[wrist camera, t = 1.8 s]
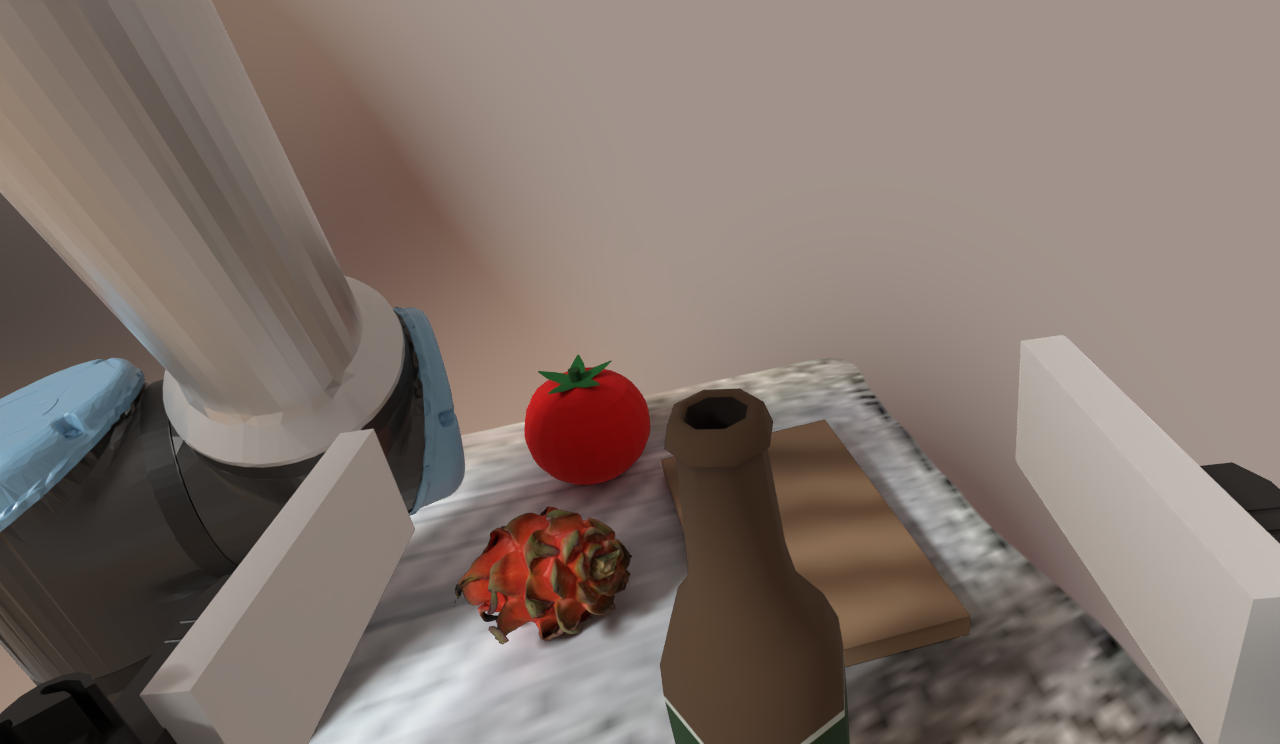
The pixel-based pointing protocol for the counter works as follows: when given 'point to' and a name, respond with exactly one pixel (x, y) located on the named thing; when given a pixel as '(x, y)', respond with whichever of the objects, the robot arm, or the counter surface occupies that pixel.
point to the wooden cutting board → (853, 548)
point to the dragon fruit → (546, 573)
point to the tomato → (586, 424)
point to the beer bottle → (744, 594)
